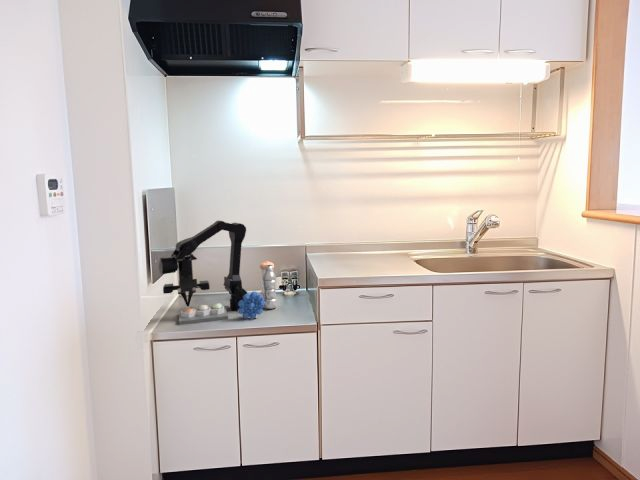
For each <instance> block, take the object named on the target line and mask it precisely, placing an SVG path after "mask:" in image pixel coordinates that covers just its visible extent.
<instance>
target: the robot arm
mask: <svg viewBox="0 0 640 480" xmlns="http://www.w3.org/2000/svg"><path fill="white" fill-rule="evenodd" d="M221 231H226V232H228V237H229V239H230V253H229V254H230V255H229V271H228V275H227V276H224V278H223V286H224V288H225V291H227V292H228V293H229V295H230V298H229V309H231V311H232V312H233V311H238V309H239V308H240V306H239V305H238V303H239V301H240V300H244V299H243V296H244V295H245V294H248V291H247V290H246V289H244V288H243V283H242V279H241V275H240V274H241V273H240V272H241V258H242V257H241V256H242V253H241V252H242V244H243V242H244V240H245V237H246V234H247V227H246V226H245V224H243V223H240V222H239V223H238V222H231V223H229V222H225V221H223V220H221V219H219V220H216V221H215V222H214V223H212V224H211V225H209V226H208V227H206V228H204V229H203V230H201V231H200V232H198V233H196V234H195V235H193V236H192V237H188V238H185V239H183V240H180V241H178V242H177V243H176V244H175V249H174V250H173V251H172V254H171V256H167V257H159V261H158V270H159V273H160V275H166V274H173V273H176V272H177V271H178V285H174V283H165V284H164V285H163V287H162V292H163V294H164V295H165V294H172V293H173V292H174V291H177V294H178V295H181V297H182V299H183V300H184V303H185V306H186V307H189V308H190V303H191V300H192V297H193V295H194V294H195V293H196V292H197V289H200V290H202V291H207V290H208V291H209V290H210V289H211V288H210V287H211V286H210V281H209V280H201V281H199V282H198V280H197V278H194V272H193V261H196V260H197V259H198V258H197V257H196V256H194V254H193V252H195V251H196V250H197V249H198V247H199V246H200V245H201V244H203V243H205V242H206V241H207V240H208V239H211V238H212V237H213V236H215V235H216V234H218V233H219V232H221ZM187 292H188V293H187ZM187 294H188V295H187Z"/></svg>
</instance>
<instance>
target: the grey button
mask: <svg viewBox="0 0 640 480" xmlns="http://www.w3.org/2000/svg"><path fill="white" fill-rule="evenodd" d="M208 307H209V306H208V305H207V304H200V305H198V306H197V308H198V311H205V310H208Z"/></svg>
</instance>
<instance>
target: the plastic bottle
mask: <svg viewBox="0 0 640 480" xmlns="http://www.w3.org/2000/svg"><path fill="white" fill-rule="evenodd" d="M276 275H277V274H276V273H275V272H274V268H273V265H265V272H264V274H263V276H262V275H261V280H262V279H263V285H264V301H265V306H264V307H263V308H264V309H266V310H267V309H269V310H271V309H272V310H273V309H275V308H277V305H278V299H277V293H276V285H277V276H276Z"/></svg>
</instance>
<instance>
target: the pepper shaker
mask: <svg viewBox="0 0 640 480" xmlns="http://www.w3.org/2000/svg"><path fill="white" fill-rule="evenodd" d="M265 265H273V269H274V268H275V264H274V263H273V262H271V261H269V260H265V261H264V262H261V263H260V264H259V268H260V269H261V277H262V276H263V274H264V272H265ZM260 288H261V289H260V290H261V291H260V294H262V295H263V299H262V300H264V285H263V279H262V278H261V284H260Z"/></svg>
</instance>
